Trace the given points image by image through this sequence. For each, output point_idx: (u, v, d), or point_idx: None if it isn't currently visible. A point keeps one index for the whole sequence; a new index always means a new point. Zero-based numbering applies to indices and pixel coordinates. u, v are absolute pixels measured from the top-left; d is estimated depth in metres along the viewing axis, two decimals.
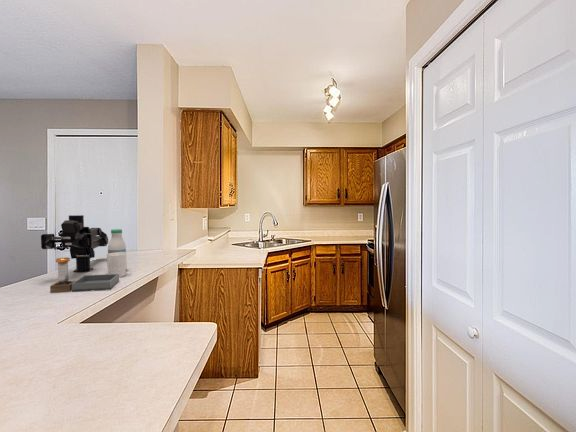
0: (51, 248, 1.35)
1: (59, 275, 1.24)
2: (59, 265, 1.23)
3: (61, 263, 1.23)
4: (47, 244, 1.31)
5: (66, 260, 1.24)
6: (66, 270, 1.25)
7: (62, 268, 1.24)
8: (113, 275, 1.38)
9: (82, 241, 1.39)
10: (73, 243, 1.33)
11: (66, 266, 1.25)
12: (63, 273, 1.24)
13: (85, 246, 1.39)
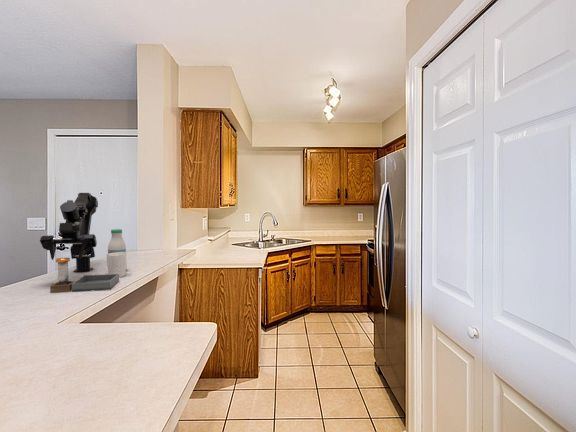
0: None
1: (59, 275, 1.24)
2: (59, 265, 1.23)
3: (61, 263, 1.23)
4: (53, 257, 1.28)
5: (66, 260, 1.24)
6: (66, 270, 1.25)
7: (62, 268, 1.24)
8: (113, 275, 1.38)
9: (86, 244, 1.35)
10: (80, 256, 1.31)
11: (66, 266, 1.25)
12: (63, 273, 1.24)
13: (90, 247, 1.37)
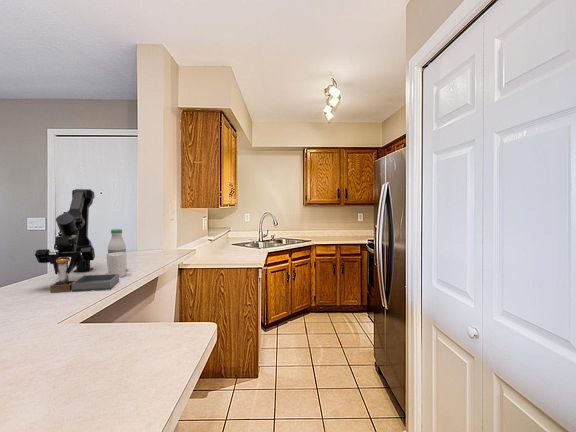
0: None
1: (59, 275, 1.24)
2: (59, 265, 1.23)
3: (61, 263, 1.23)
4: (57, 272, 1.24)
5: (66, 260, 1.24)
6: (66, 270, 1.25)
7: (62, 268, 1.24)
8: (113, 275, 1.38)
9: (75, 258, 1.29)
10: (69, 271, 1.25)
11: (66, 266, 1.25)
12: (63, 273, 1.24)
13: (80, 261, 1.31)
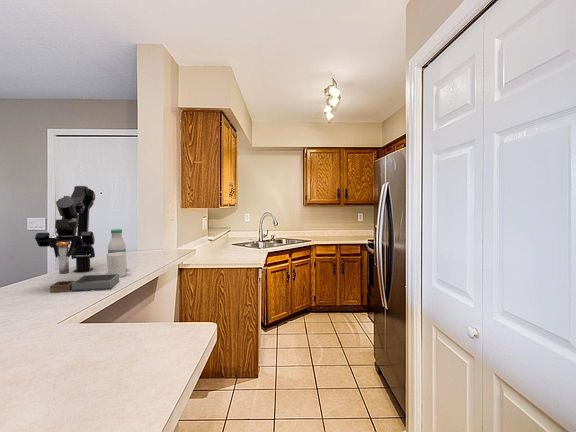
0: None
1: (59, 258, 1.23)
2: (59, 248, 1.23)
3: (61, 246, 1.23)
4: (57, 255, 1.24)
5: (66, 243, 1.24)
6: (66, 253, 1.24)
7: (62, 251, 1.23)
8: (113, 275, 1.38)
9: (76, 242, 1.29)
10: (69, 255, 1.25)
11: (67, 250, 1.25)
12: (63, 256, 1.24)
13: (80, 245, 1.31)
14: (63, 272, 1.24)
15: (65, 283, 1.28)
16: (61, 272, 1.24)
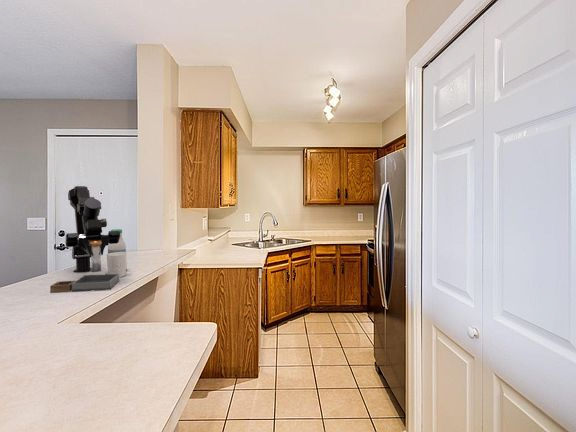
0: None
1: (93, 257, 1.29)
2: (94, 247, 1.28)
3: (96, 245, 1.29)
4: None
5: (100, 242, 1.30)
6: (100, 252, 1.30)
7: (97, 250, 1.29)
8: (113, 275, 1.38)
9: None
10: (102, 253, 1.31)
11: (100, 249, 1.30)
12: (97, 255, 1.29)
13: (106, 244, 1.37)
14: (97, 270, 1.30)
15: (65, 283, 1.28)
16: (95, 270, 1.29)
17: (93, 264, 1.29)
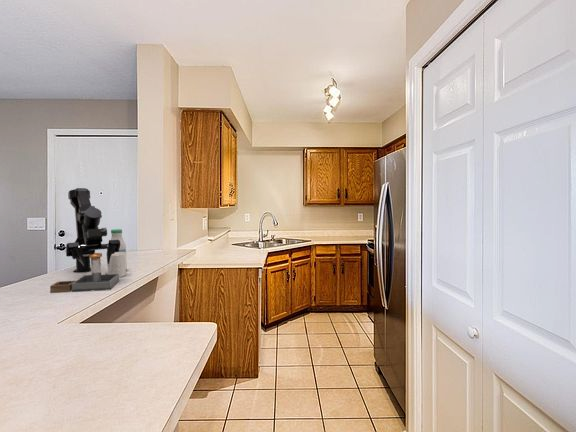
0: None
1: (94, 270, 1.29)
2: (94, 260, 1.29)
3: (96, 258, 1.29)
4: (84, 264, 1.27)
5: (100, 255, 1.30)
6: (100, 265, 1.31)
7: (97, 263, 1.29)
8: (113, 275, 1.38)
9: None
10: None
11: None
12: (97, 268, 1.30)
13: (112, 253, 1.38)
14: None
15: (65, 283, 1.28)
16: None
17: (93, 277, 1.29)
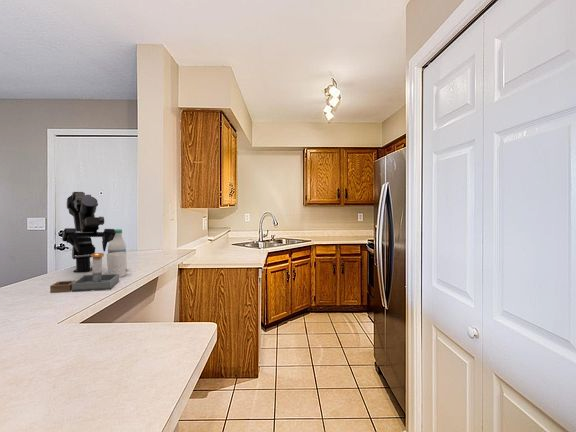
0: None
1: (95, 269, 1.29)
2: (95, 260, 1.29)
3: (97, 258, 1.29)
4: None
5: (102, 255, 1.30)
6: (101, 265, 1.31)
7: (98, 263, 1.30)
8: (113, 275, 1.38)
9: None
10: None
11: (101, 261, 1.31)
12: (99, 267, 1.30)
13: (108, 241, 1.44)
14: None
15: (65, 283, 1.28)
16: None
17: (94, 277, 1.29)
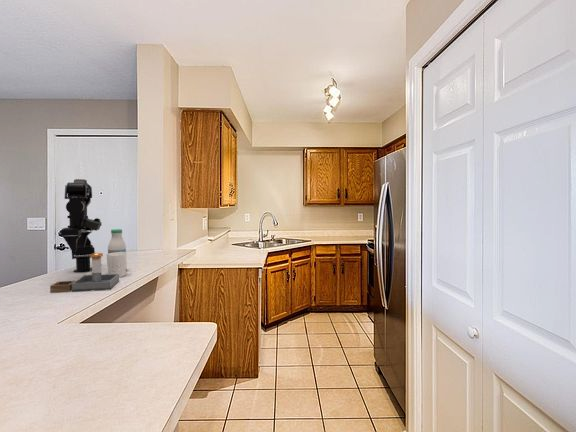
0: None
1: (94, 269, 1.29)
2: (94, 260, 1.29)
3: (97, 258, 1.30)
4: None
5: (101, 255, 1.31)
6: (100, 264, 1.31)
7: (97, 262, 1.30)
8: (113, 275, 1.38)
9: None
10: None
11: None
12: (98, 267, 1.30)
13: None
14: None
15: (65, 283, 1.28)
16: None
17: (94, 277, 1.29)
